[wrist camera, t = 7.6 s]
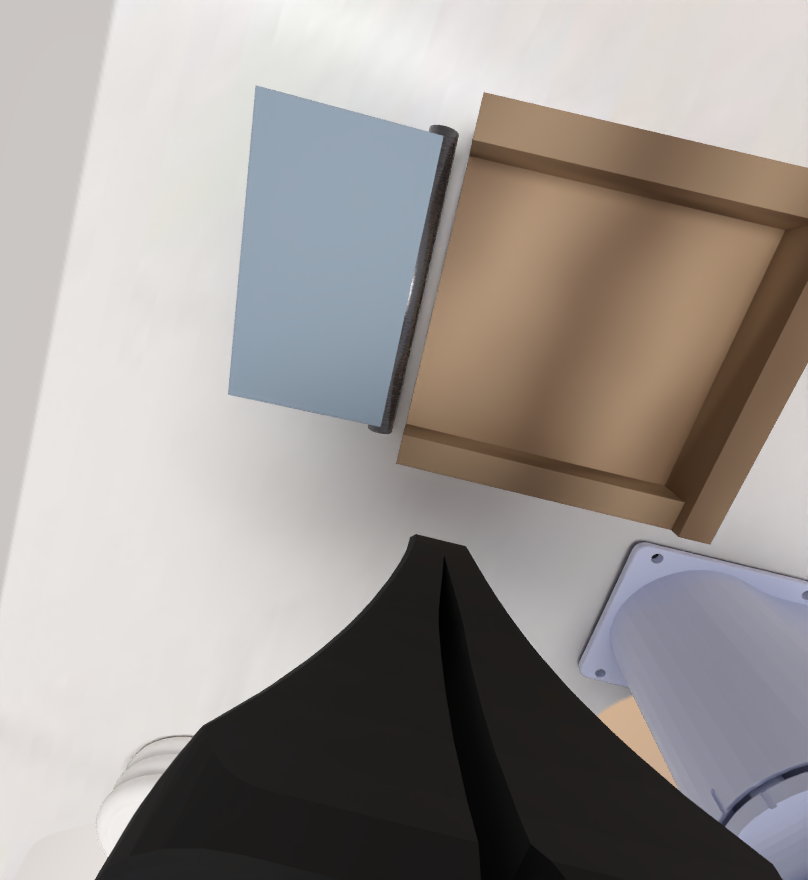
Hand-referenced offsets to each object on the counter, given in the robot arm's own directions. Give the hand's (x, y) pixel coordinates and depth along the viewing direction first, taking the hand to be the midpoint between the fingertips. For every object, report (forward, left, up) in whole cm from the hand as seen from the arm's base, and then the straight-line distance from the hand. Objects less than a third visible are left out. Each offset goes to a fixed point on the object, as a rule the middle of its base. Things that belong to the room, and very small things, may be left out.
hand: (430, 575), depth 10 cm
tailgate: (+2, -6, -8) cm, 10 cm away
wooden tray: (-4, -6, -9) cm, 12 cm away
